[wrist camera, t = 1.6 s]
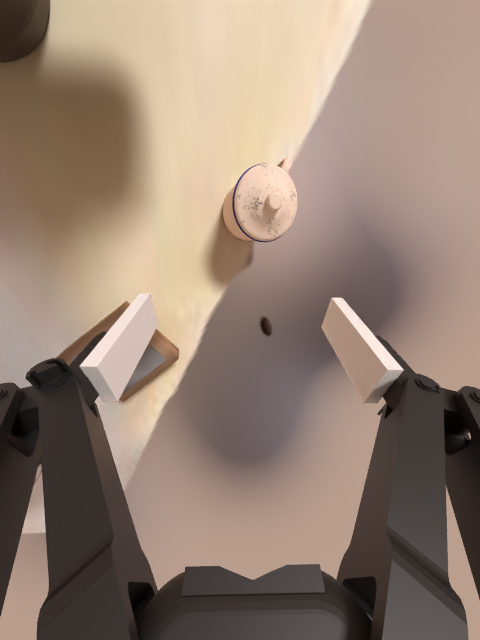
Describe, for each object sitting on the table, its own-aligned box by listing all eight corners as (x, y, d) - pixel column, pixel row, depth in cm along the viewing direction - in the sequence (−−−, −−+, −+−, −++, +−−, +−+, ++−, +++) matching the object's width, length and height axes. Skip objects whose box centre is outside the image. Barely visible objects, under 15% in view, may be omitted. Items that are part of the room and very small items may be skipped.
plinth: (67, 347, 34) (53, 360, 30) (126, 301, 34) (119, 308, 30) (128, 388, 40) (122, 403, 36) (178, 349, 40) (178, 360, 36)
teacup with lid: (252, 252, 36) (280, 256, 26) (210, 219, 33) (223, 209, 22) (291, 192, 34) (338, 171, 24) (251, 150, 31) (286, 103, 20)
